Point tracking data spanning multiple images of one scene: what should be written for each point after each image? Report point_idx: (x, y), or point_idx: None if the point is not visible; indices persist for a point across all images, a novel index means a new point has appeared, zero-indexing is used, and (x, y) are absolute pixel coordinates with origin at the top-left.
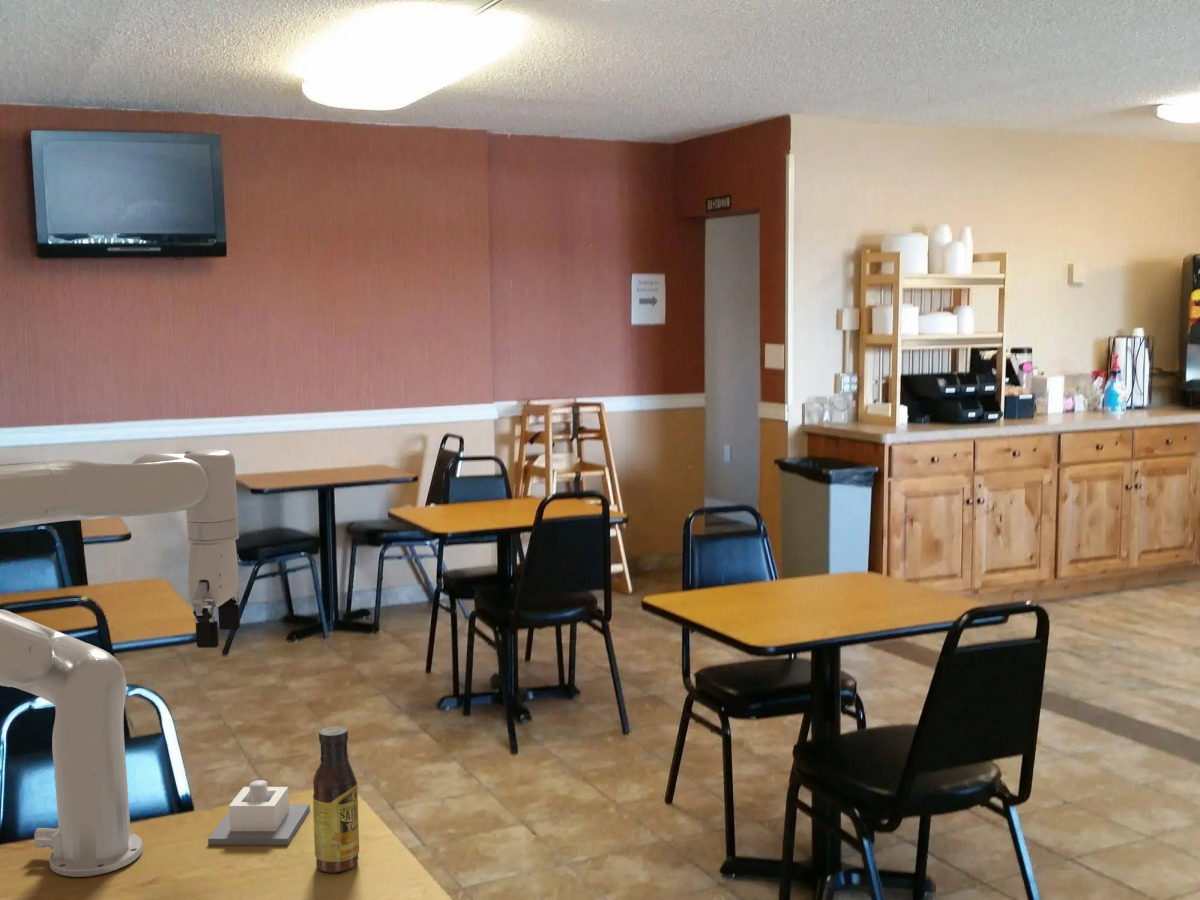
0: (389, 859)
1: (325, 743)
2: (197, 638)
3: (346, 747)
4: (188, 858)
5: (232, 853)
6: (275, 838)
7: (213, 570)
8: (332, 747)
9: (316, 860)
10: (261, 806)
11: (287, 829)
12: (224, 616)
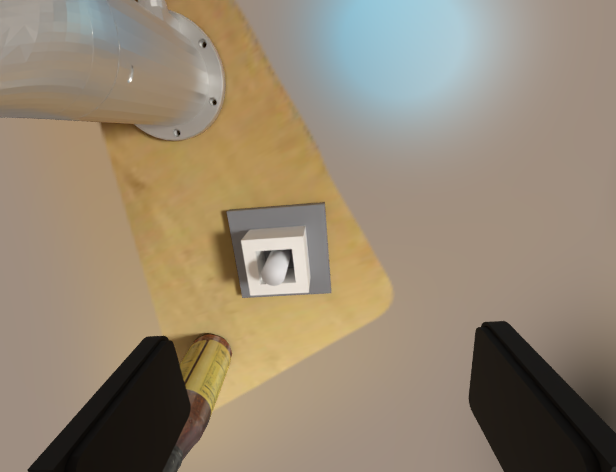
0: (233, 385)
1: None
2: (121, 370)
3: None
4: (194, 201)
5: (215, 244)
6: (240, 285)
7: None
8: None
9: (198, 339)
10: (248, 280)
11: None
12: (518, 413)
